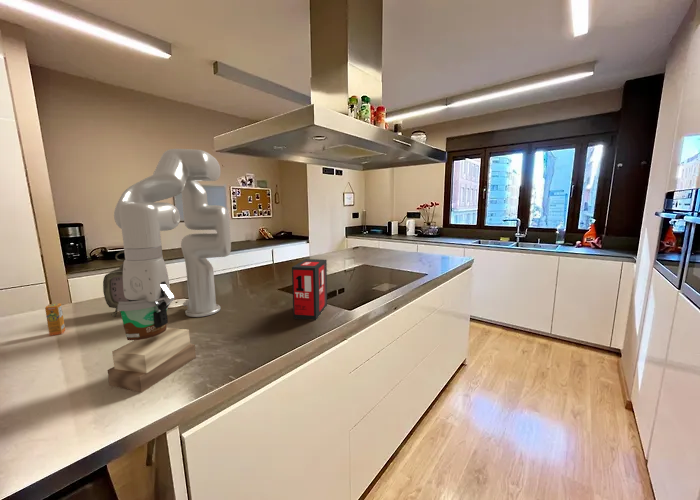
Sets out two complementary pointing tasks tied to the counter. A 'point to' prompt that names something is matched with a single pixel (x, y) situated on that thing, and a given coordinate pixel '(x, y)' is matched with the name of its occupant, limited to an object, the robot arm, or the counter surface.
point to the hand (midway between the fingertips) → (152, 323)
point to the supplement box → (55, 319)
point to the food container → (139, 319)
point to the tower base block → (150, 372)
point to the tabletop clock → (114, 287)
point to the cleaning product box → (309, 288)
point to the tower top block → (150, 350)
